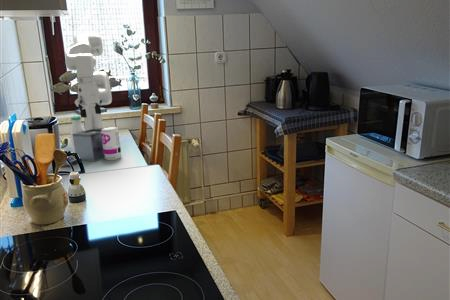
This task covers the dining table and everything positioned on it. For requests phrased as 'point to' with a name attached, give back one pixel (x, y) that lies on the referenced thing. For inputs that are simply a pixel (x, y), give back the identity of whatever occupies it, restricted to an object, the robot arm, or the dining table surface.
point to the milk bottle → (76, 128)
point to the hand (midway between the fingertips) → (91, 115)
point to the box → (89, 144)
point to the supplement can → (111, 143)
